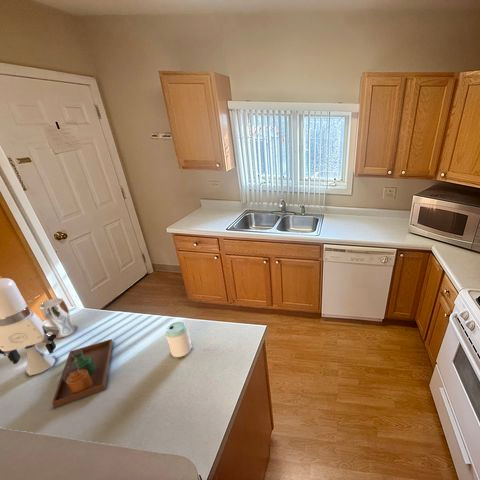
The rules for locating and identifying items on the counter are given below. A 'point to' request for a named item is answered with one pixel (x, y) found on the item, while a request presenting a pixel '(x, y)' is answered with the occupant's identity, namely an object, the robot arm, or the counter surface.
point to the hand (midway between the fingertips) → (35, 355)
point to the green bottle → (84, 361)
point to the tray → (99, 377)
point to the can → (178, 339)
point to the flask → (37, 360)
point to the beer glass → (57, 316)
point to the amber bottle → (78, 379)
